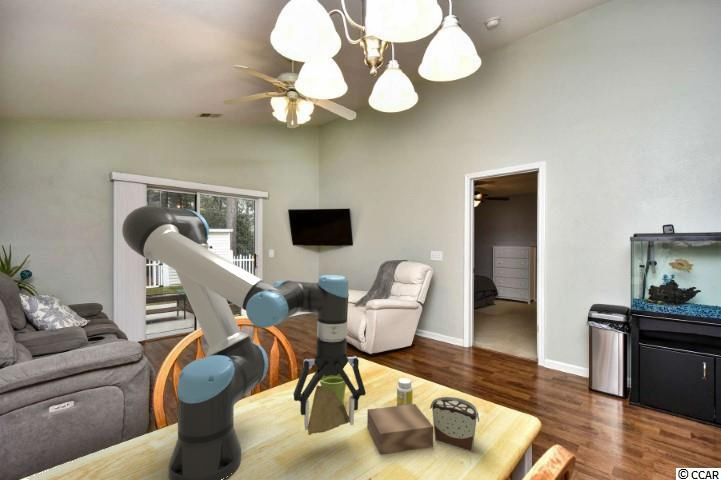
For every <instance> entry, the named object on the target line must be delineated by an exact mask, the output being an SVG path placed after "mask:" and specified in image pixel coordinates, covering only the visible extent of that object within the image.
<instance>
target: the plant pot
mask: <svg viewBox="0 0 721 480" xmlns="http://www.w3.org/2000/svg"><path fill="white" fill-rule="evenodd" d="M346 375H347V376H348V378H349V379H350V376H349V375H348V373H346ZM319 383H320V386H325V387H327V388H328V389H329V390H331V391H332V392H334V393H335V394H336V396H337V397H338V398H339V400H340V401H341V403H342V404H343V405H344V402H345V401H344V400H345V393H346V387H347V385H346V383H345V382H344V380H343V378H342V377H341V375H340V374H338V375H337V376H334V375H330V376H325V375H324V376H323V377H322V379H321V380H320V381H319Z"/></svg>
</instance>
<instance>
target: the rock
mask: <svg viewBox="0 0 721 480" xmlns="http://www.w3.org/2000/svg"><path fill="white" fill-rule="evenodd" d="M348 423H349V424H350V422H349V413H348V412H347V409H346V406H345V405H344V403H343V404H342V403H341V401H340V400H339V398H338V397H337V396H336V394H335V393H334V392H332V391H331V390H329V389H328V388H327V387H325V386H321V385H318V384H317V385H316V387H315V391H314V395H313V400H312V406H311V412H310V414H309V423H308V430H307V435H309V436H311V435H312V434H319V433H320V434H321V433H326V432H328V431H332V430H333V429H335V428H339V427H340V426H343V425H346V424H348Z"/></svg>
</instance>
